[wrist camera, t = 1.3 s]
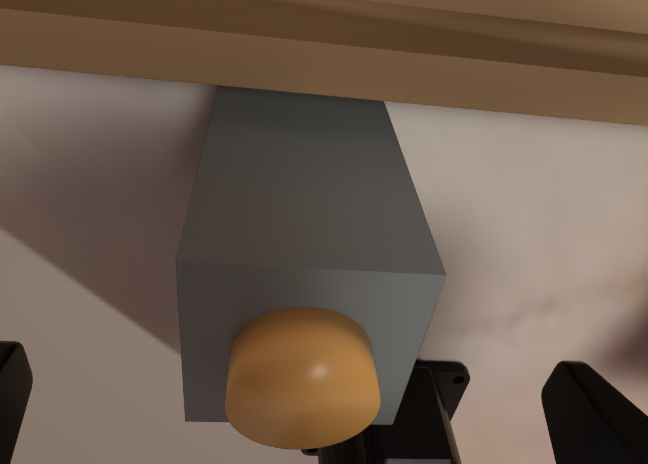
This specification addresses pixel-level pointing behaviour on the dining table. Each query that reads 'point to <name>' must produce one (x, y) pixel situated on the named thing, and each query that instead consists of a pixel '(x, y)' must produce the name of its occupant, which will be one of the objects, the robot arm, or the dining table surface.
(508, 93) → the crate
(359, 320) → the block
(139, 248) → the dining table surface
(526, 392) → the dining table surface
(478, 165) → the dining table surface
